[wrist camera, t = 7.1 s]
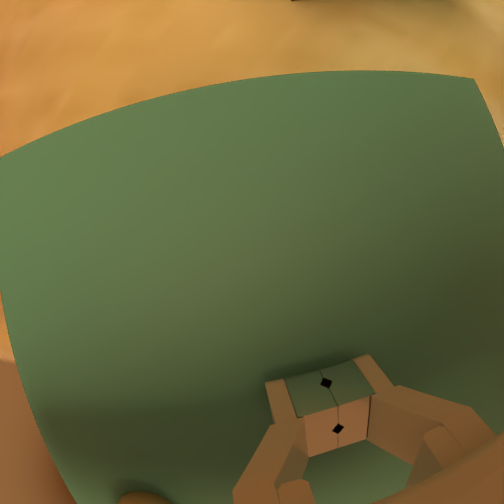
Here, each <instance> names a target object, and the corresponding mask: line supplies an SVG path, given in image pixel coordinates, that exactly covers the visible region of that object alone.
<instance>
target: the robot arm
mask: <svg viewBox="0 0 504 504" xmlns="http://www.w3.org/2000/svg"><path fill="white" fill-rule="evenodd" d="M265 387H266V391H267V396H268V401H269V405H270V410H271V414H272V419H273V423H274V424H273V425H270V426H269V428H268V430H267V432H266V434H265V435H264V437H263V439H262V441H261V443H260V444H259V446H258V448H257V450H256V452H255V453H254V455H253V457H252V459H251V460H250V462H249V464H248V466H247V467H246V469H245V471H244V472H243V474H242V476H241V477H240V479H239V481H238V482H237V484H236V486H235V487H234V489H233V491H232V493H233V502H234V504H316V502H315V499H314V496H313V493H312V491H311V488H310V485H309V482H308V481H305V480H302V477H303V474H304V472H305V469H306V466H307V463H308V460H309V457H311V456H315V455H318V454H321V453H324V452H327V451H330V450H333V449H336V448H339V447H343V446H346V445H349V444H352V443H355V442H358V441H361V440H364V439H367V440H368V441H370V442H371V443H373V444H375V445H377V446H378V447H380V448H382V449H384V450H385V451H387V452H389V453H391V454H393V455H394V456H396V457H398V458H400V459H402V460H403V461H405V462H407V463H409V464H411V465H413V468H412V470H411V473H410V475H409V478H408V480H407V483H406V487H407V488H405V489H403V490H401V491H399V492H397V493H394V494H392V495H390V496H387V497H385V498H383V499H380V500H378V501H375V502H373V503H370V504H504V430H502V431H501V432H500V433H498V434H497V435H495V433H494V432H493V431H492V430H491V429H490V428H489V427H488V426H487V425H486V423H485V422H484V421H483V420H482V419H481V418H480V417H479V416H478V415H477V414H476V412H475V411H474V410H473V409H472V408H471V407H469V406H465V405H462V404H458V403H455V402H451V401H448V400H445V399H441V398H438V397H435V396H432V395H429V394H425V393H422V392H419V391H416V390H413V389H410V388H407V387H404V386H401V385H398V386H395V387H394V385H393V384H392V383H391V381H390V380H389V379H388V378H387V376H386V375H385V374H384V372H383V371H382V370H381V369H380V367H379V366H378V365H377V364H376V362H375V361H374V360H373V359H372V357H371V356H370V355H368V354H365V355H362V356H360V357H357V358H354V359H351V360H349V361H345V362H342V363H339V364H336V365H333V366H329V367H326V368H322V369H319V370H315V371H311V372H307V373H303V374H299V375H295V376H290V377H286V378H283V379H278V380H273V381H269V382H265Z"/></svg>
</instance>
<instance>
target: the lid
mask: <svg viewBox="0 0 504 504" xmlns="http://www.w3.org/2000/svg"><path fill="white" fill-rule="evenodd" d="M0 292H1V298H2V304H3V310H4V315H5V320H6V325H7V329H8V334H9V338H10V342H11V346H12V350H13V354H14V358H15V361H16V365H17V368H18V372H19V375H20V378H21V381H22V384H23V388H24V390H25V393H26V396H27V399H28V402H29V405H30V408H31V410H32V413H33V415H34V418H35V420H36V423H37V425H38V428H39V430H40V433H41V435H42V437H43V440H44V442H45V444H46V446H47V448H48V450H49V453H50V455H51V457H52V459H53V461H54V463H55V465H56V467H57V469H58V471H59V473H60V475H61V476H62V478H63V480H64V482H65V484H66V486H67V487H68V489H69V491H70V493H71V494H72V496H73V498H74V499H75V501H76V503H77V504H234V502H233V493H232V491H233V489H234V487H235V486H236V484H237V482H238V481H239V479H240V477H241V476H242V474H243V472H244V471H245V469H246V467H247V466H248V464H249V462H250V460H251V459H252V457H253V455H254V453H255V452H256V450H257V448H258V446H259V444H260V443H261V441H262V439H263V437H264V435H265V434H266V432H267V430H268V428H269V426H270V425H273V424H274V423H273V419H272V414H271V410H270V405H269V401H268V396H267V391H266V387H265V382H269V381H273V380H278V379H283V378H286V377H290V376H295V375H299V374H303V373H307V372H311V371H315V370H319V369H322V368H326V367H329V366H333V365H336V364H339V363H342V362H345V361H349V360H351V359H354V358H357V357H360V356H362V355H365V354H368V355H370V356H371V357H372V359H373V360H374V361H375V362H376V364H377V365H378V366H379V367H380V369H381V370H382V371H383V372H384V374H385V375H386V376H387V378H388V379H389V380H390V381H391V383H392V384H393V385H394V387H395V386H398V385H401V386H404V387H407V388H410V389H413V390H416V391H419V392H422V393H425V394H429V395H432V396H435V397H438V398H441V399H445V400H448V401H451V402H455V403H458V404H462V405H465V406H469V407H471V408H472V409H473V410H474V411H475V412H476V414H477V415H478V416H479V417H480V418H481V419H482V420H483V421H484V422H485V423H486V425H487V426H488V427H489V428H490V429H491V430H492V431H493V432H494V433H495V435H497V434H498V433H500V432H501V431H502V430H504V148H503V145H502V142H501V139H500V137H499V134H498V132H497V129H496V127H495V124H494V122H493V119H492V117H491V114H490V112H489V110H488V108H487V105H486V103H485V101H484V99H483V97H482V95H481V92H480V90H479V88H478V86H477V84H476V82H475V80H474V79H471V78H464V77H457V76H449V75H440V74H430V73H418V72H401V71H326V72H309V73H296V74H285V75H276V76H267V77H259V78H252V79H245V80H239V81H232V82H227V83H221V84H215V85H210V86H205V87H200V88H195V89H191V90H186V91H182V92H177V93H173V94H169V95H165V96H161V97H157V98H153V99H150V100H146V101H143V102H139V103H136V104H132V105H129V106H126V107H122V108H119V109H116V110H113V111H110V112H107V113H104V114H101V115H98V116H95V117H92V118H89V119H87V120H84V121H81V122H79V123H76V124H73V125H71V126H68V127H66V128H63V129H61V130H58V131H56V132H53V133H51V134H49V135H46V136H44V137H42V138H39V139H37V140H35V141H33V142H31V143H28V144H26V145H24V146H22V147H20V148H18V149H16V150H14V151H12V152H10V153H8V154H6V155H4V156H2V157H0ZM412 468H413V465H411V464H409V463H407V462H405V461H403V460H402V459H400V458H398V457H396V456H394V455H393V454H391V453H389V452H387V451H385V450H384V449H382V448H380V447H378V446H377V445H375V444H373V443H371V442H370V441H368V440H367V439H364V440H361V441H358V442H355V443H352V444H349V445H346V446H343V447H339V448H336V449H333V450H330V451H327V452H324V453H321V454H318V455H315V456H311V457H309V460H308V463H307V466H306V469H305V472H304V474H303V477H302V480H305V481H308V482H309V485H310V488H311V491H312V493H313V496H314V499H315V502H316V504H370V503H373V502H375V501H378V500H380V499H383V498H385V497H387V496H390V495H392V494H394V493H397V492H399V491H401V490H403V489H405V488H407V487H406V483H407V480H408V478H409V475H410V473H411V470H412Z"/></svg>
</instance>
